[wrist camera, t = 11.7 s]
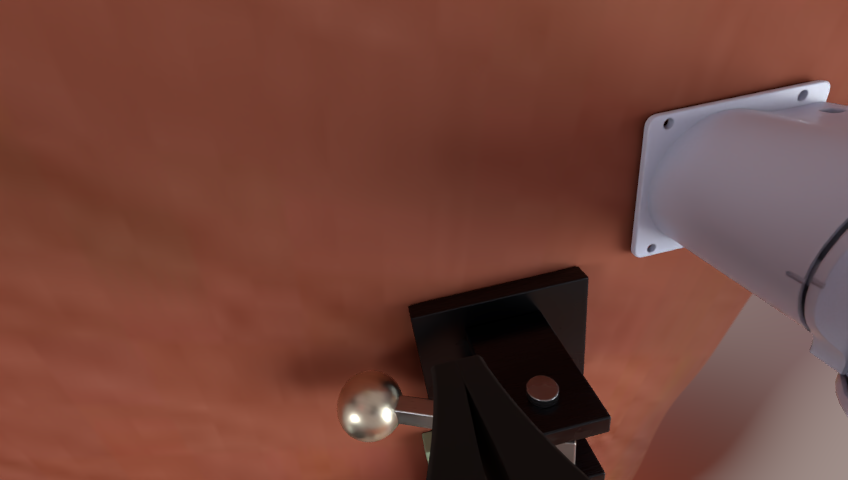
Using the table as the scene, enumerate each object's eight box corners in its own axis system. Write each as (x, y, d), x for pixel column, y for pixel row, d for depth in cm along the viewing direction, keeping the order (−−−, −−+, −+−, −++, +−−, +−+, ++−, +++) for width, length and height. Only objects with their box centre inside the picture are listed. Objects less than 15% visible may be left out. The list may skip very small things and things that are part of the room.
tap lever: (361, 395, 25) (335, 450, 22) (346, 353, 23) (316, 407, 20) (572, 425, 21) (574, 495, 18) (574, 377, 19) (577, 447, 17)
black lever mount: (429, 400, 27) (459, 542, 19) (407, 305, 23) (435, 438, 15) (574, 364, 27) (656, 488, 20) (578, 265, 23) (681, 375, 16)
